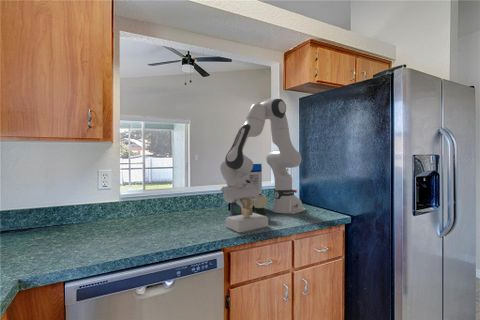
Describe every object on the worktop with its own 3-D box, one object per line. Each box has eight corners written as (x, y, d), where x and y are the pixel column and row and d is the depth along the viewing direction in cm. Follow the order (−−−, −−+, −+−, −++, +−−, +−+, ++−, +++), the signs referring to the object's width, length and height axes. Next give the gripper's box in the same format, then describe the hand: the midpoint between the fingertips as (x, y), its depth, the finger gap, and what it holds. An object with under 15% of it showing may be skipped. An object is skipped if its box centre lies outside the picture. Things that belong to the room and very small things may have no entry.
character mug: (265, 216, 160) (265, 194, 160) (271, 218, 154) (271, 196, 153) (248, 218, 155) (248, 195, 155) (254, 221, 149) (254, 197, 149)
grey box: (253, 221, 148) (253, 212, 148) (268, 226, 138) (268, 216, 138) (225, 226, 138) (225, 217, 138) (239, 232, 128) (238, 222, 128)
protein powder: (264, 208, 182) (264, 164, 181) (230, 211, 174) (230, 164, 173) (259, 205, 191) (258, 163, 190) (226, 208, 183) (225, 164, 182)
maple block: (247, 213, 141) (247, 198, 140) (252, 215, 137) (252, 199, 137) (241, 214, 138) (241, 199, 138) (246, 216, 135) (245, 200, 135)
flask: (229, 216, 160) (229, 198, 159) (231, 215, 162) (231, 197, 162) (244, 218, 156) (243, 199, 155) (246, 217, 158) (245, 198, 158)
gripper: (222, 183, 137) (232, 205, 129) (253, 180, 149) (265, 200, 141) (217, 191, 141) (227, 213, 133) (249, 187, 153) (260, 207, 145)
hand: (247, 206), depth 137 cm, fingers closed on maple block, 4 cm apart
